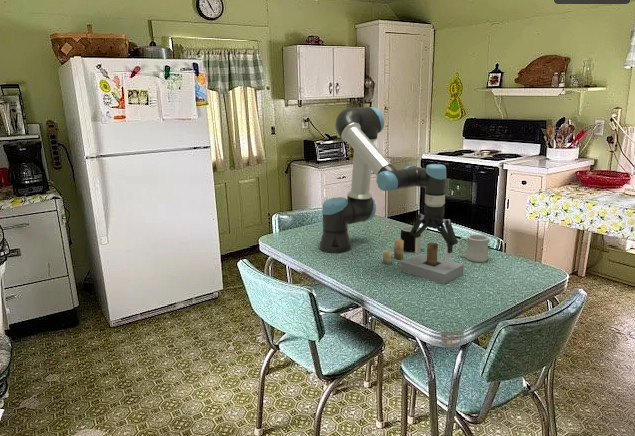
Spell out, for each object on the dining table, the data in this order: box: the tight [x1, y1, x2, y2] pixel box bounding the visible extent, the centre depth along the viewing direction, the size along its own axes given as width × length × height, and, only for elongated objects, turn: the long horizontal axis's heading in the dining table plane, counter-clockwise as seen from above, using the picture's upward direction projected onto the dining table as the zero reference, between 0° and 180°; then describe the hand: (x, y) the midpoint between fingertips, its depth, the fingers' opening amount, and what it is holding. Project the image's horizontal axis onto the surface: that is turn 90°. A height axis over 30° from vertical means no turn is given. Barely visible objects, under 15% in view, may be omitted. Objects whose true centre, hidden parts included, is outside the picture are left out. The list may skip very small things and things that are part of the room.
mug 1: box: [400, 225, 422, 253], centre depth 212 cm, size 12×9×10 cm
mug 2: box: [458, 233, 490, 263], centre depth 198 cm, size 12×9×10 cm
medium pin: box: [393, 238, 404, 260], centre depth 201 cm, size 4×4×8 cm
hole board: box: [400, 252, 465, 285], centre depth 184 cm, size 20×14×4 cm
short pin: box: [382, 249, 393, 265], centre depth 196 cm, size 4×4×5 cm
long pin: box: [426, 242, 439, 267], centre depth 183 cm, size 4×4×12 cm
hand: (432, 256), depth 183 cm, fingers open, 13 cm apart
